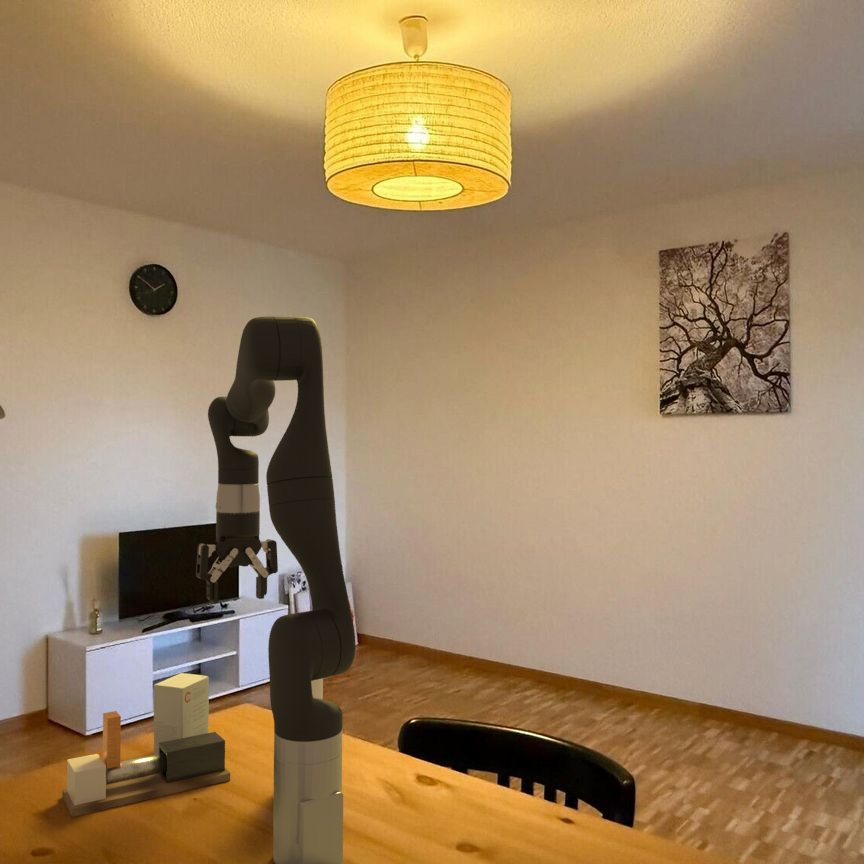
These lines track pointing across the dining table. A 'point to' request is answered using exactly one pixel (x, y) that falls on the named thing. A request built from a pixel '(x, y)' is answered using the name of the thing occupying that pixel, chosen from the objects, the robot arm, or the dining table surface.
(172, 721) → the small box
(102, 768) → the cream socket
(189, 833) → the dining table surface
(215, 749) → the dark hollow rectangular block
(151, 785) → the walnut board
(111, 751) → the sliding bolt
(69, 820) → the dining table surface
